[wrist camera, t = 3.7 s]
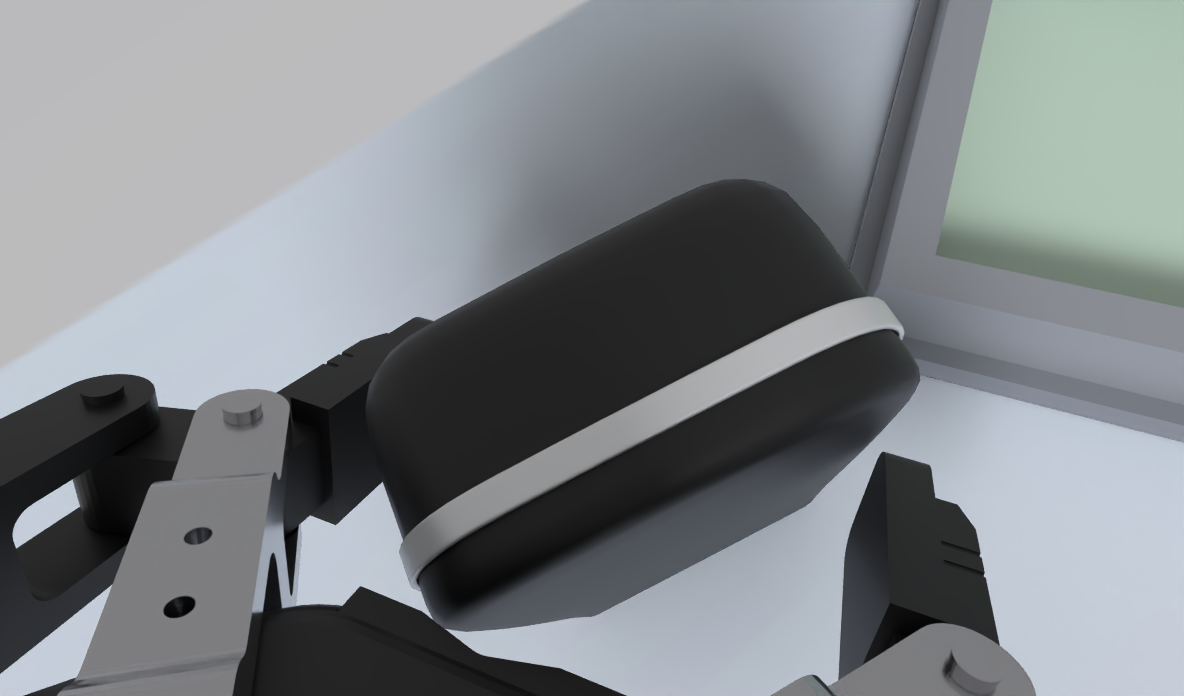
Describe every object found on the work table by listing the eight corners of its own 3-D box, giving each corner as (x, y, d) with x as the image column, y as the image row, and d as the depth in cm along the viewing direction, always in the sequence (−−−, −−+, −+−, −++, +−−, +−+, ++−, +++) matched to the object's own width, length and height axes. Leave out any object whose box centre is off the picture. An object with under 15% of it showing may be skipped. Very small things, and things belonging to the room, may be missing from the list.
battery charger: (746, 372, 19) (789, 78, 8) (824, 497, 17) (991, 335, 7) (519, 489, 19) (271, 343, 8) (578, 625, 17) (369, 658, 7)
